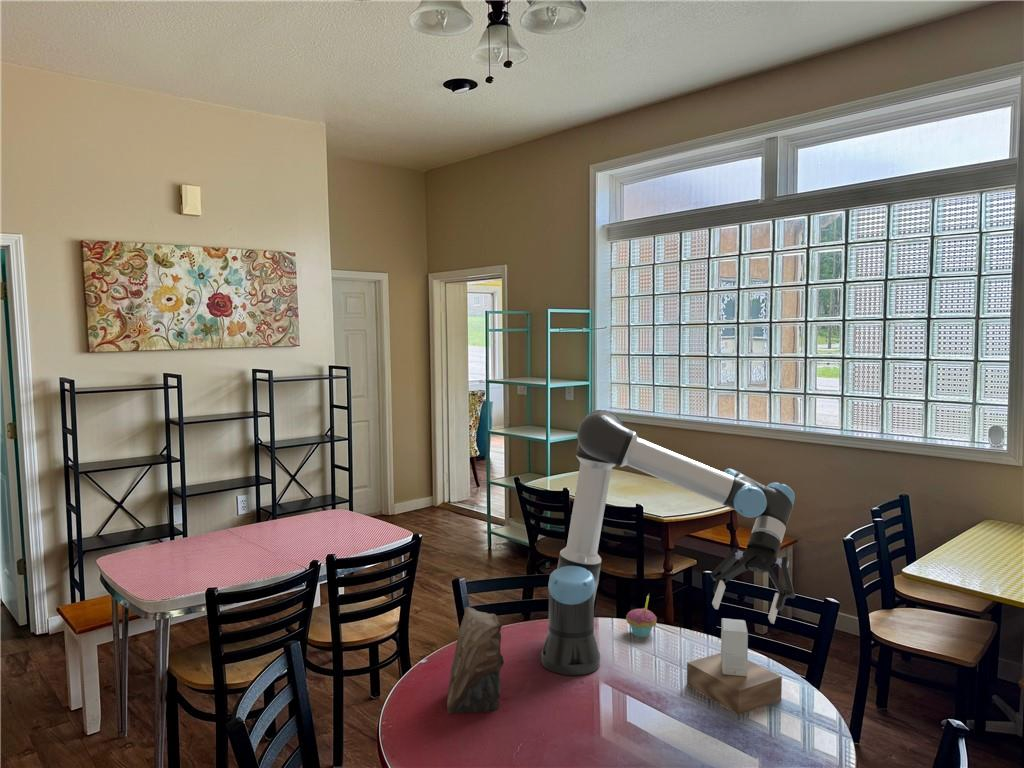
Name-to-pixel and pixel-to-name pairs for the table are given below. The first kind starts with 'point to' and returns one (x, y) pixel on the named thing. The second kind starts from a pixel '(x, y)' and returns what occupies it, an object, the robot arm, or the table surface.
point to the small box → (734, 647)
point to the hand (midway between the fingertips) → (742, 613)
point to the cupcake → (641, 620)
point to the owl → (476, 665)
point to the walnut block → (734, 684)
